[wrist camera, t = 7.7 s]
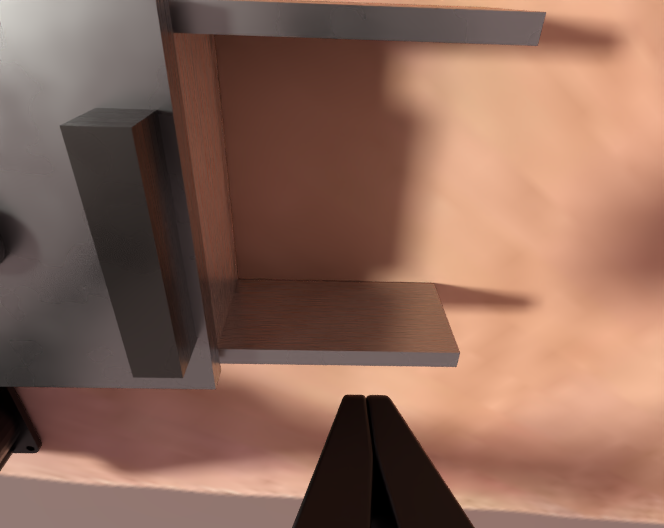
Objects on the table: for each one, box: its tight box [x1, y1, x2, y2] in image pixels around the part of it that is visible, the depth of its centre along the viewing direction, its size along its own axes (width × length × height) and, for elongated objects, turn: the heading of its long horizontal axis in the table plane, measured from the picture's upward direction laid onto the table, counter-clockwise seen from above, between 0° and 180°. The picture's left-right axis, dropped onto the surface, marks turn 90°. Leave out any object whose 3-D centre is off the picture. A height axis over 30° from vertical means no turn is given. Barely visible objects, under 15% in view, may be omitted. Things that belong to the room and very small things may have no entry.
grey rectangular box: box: [169, 0, 546, 367], centre depth 17 cm, size 17×22×5 cm
